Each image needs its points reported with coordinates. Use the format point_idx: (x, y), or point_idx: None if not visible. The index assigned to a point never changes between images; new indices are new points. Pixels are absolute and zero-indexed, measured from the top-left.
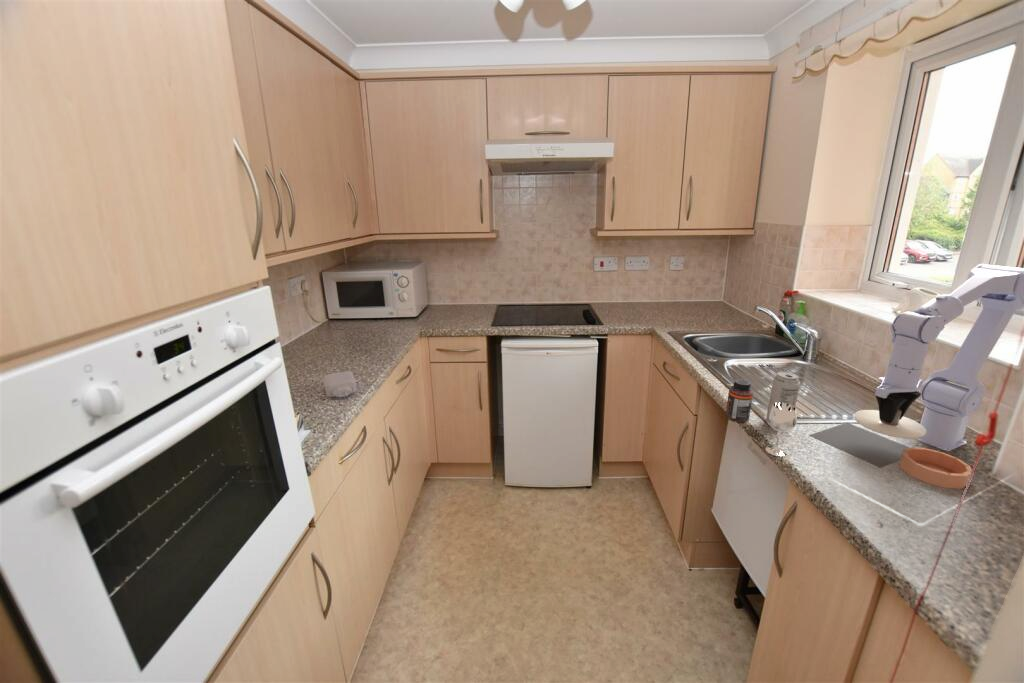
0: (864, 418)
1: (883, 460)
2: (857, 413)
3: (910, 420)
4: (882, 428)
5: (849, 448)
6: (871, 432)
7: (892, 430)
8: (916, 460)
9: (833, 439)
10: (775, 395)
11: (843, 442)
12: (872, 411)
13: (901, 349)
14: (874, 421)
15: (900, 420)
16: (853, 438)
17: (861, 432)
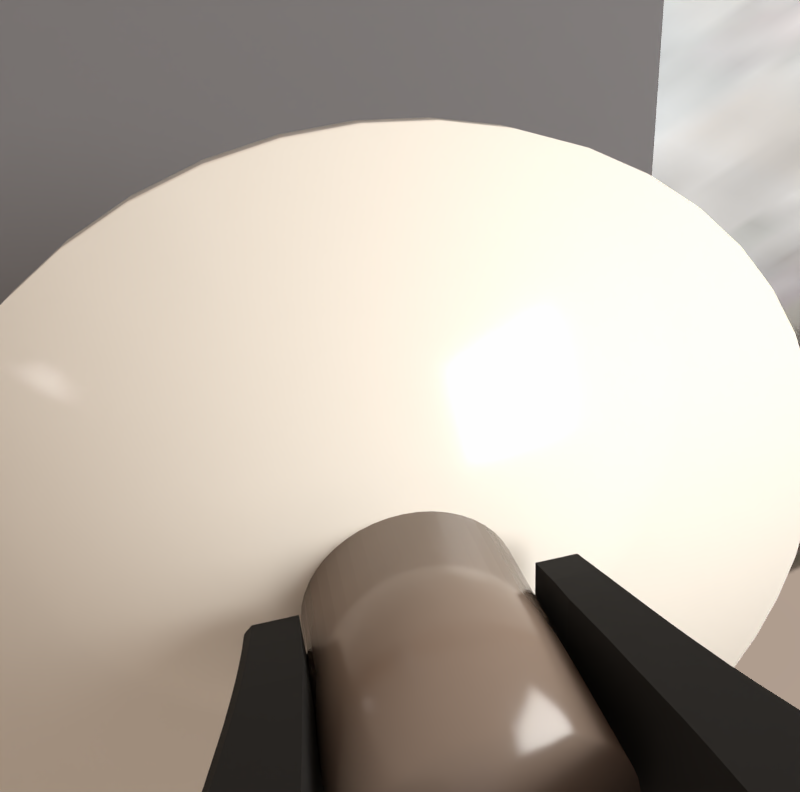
0: (130, 427)
1: None
2: (208, 211)
3: (740, 602)
4: (98, 729)
5: (37, 265)
6: (649, 73)
7: (193, 777)
8: None
9: (16, 22)
10: None
11: (91, 133)
12: (604, 241)
13: None
14: (202, 551)
15: (631, 581)
16: (314, 101)
17: (553, 25)
